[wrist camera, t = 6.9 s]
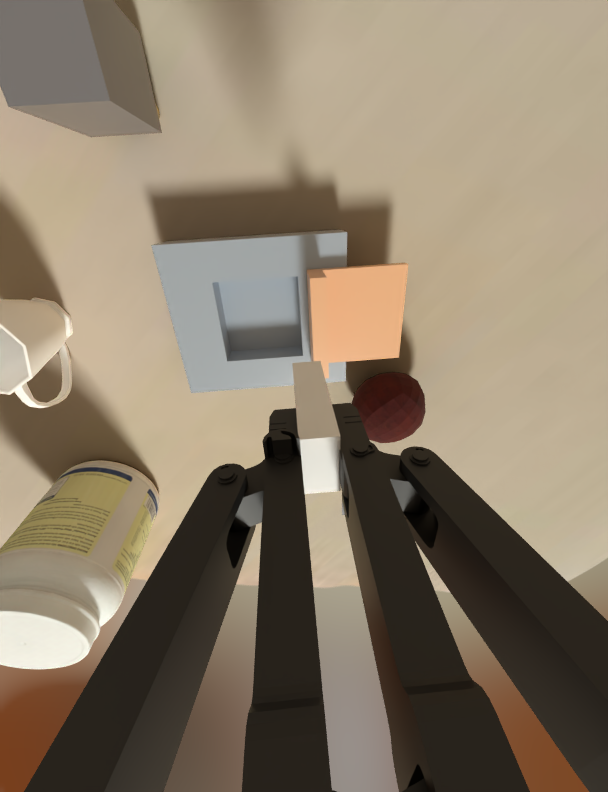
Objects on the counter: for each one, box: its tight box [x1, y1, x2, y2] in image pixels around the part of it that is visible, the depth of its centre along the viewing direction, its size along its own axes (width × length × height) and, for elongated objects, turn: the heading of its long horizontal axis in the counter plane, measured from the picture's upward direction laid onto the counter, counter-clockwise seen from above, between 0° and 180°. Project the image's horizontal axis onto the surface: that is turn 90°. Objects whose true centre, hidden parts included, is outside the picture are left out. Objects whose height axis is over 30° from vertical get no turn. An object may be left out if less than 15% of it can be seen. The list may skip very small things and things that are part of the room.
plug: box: [0, 0, 162, 137], centre depth 19 cm, size 5×5×9 cm
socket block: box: [151, 229, 347, 393], centre depth 29 cm, size 15×13×4 cm
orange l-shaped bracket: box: [307, 263, 408, 379], centre depth 26 cm, size 8×8×4 cm
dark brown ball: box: [352, 372, 425, 443], centre depth 33 cm, size 7×8×7 cm
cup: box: [0, 297, 73, 408], centre depth 28 cm, size 7×10×8 cm
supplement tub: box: [0, 460, 159, 669], centre depth 34 cm, size 12×12×17 cm
